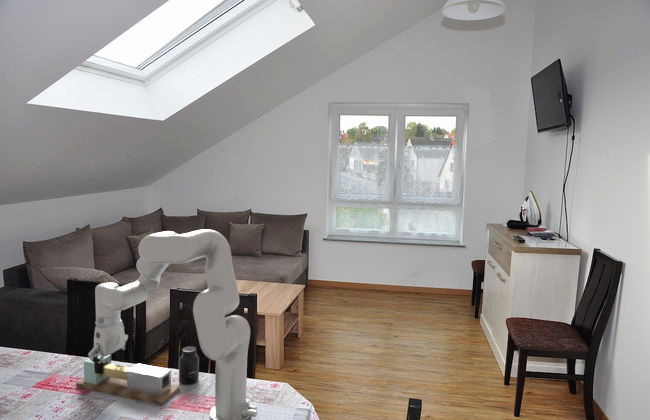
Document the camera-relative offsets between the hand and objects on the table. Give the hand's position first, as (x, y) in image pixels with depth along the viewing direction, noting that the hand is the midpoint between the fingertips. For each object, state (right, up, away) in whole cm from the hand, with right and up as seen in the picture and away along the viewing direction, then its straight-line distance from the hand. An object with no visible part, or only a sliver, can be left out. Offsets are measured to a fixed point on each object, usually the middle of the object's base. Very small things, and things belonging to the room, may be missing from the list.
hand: (109, 367), depth 155 cm
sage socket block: (-5, -5, +2) cm, 7 cm away
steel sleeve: (+15, -6, -4) cm, 17 cm away
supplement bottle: (+26, -7, +6) cm, 27 cm away
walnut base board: (+7, -7, -1) cm, 10 cm away
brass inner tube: (+5, -3, -1) cm, 5 cm away
